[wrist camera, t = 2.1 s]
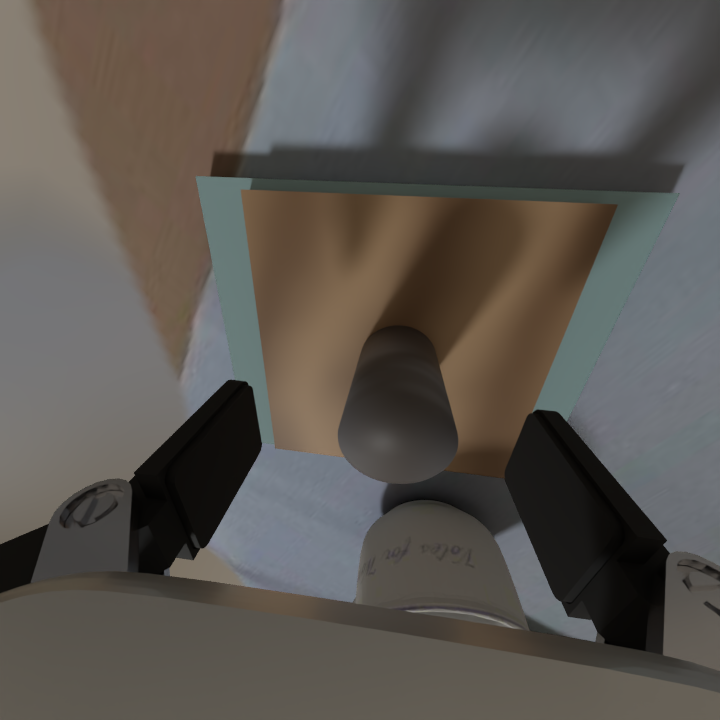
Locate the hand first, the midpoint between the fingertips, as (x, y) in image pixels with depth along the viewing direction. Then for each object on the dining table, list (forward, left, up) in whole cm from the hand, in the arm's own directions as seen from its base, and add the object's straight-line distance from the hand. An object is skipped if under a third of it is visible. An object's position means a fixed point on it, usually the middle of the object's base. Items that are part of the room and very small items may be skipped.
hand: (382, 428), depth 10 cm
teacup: (-4, +17, -8) cm, 19 cm away
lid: (-1, 0, -6) cm, 6 cm away
